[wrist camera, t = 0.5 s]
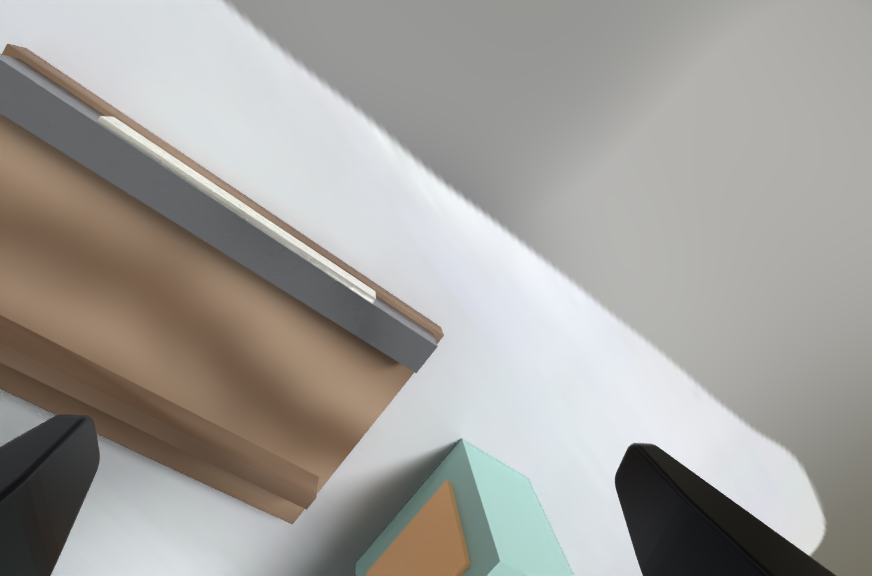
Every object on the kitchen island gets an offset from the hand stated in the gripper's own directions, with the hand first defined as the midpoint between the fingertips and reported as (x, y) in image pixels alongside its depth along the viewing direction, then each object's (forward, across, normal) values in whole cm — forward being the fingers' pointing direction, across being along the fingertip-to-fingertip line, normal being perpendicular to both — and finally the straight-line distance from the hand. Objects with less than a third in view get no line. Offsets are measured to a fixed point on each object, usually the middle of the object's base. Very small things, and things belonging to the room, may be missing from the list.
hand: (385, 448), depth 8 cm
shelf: (+14, +8, +7) cm, 18 cm away
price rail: (+14, +5, +2) cm, 15 cm away
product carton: (+12, -6, +18) cm, 22 cm away
